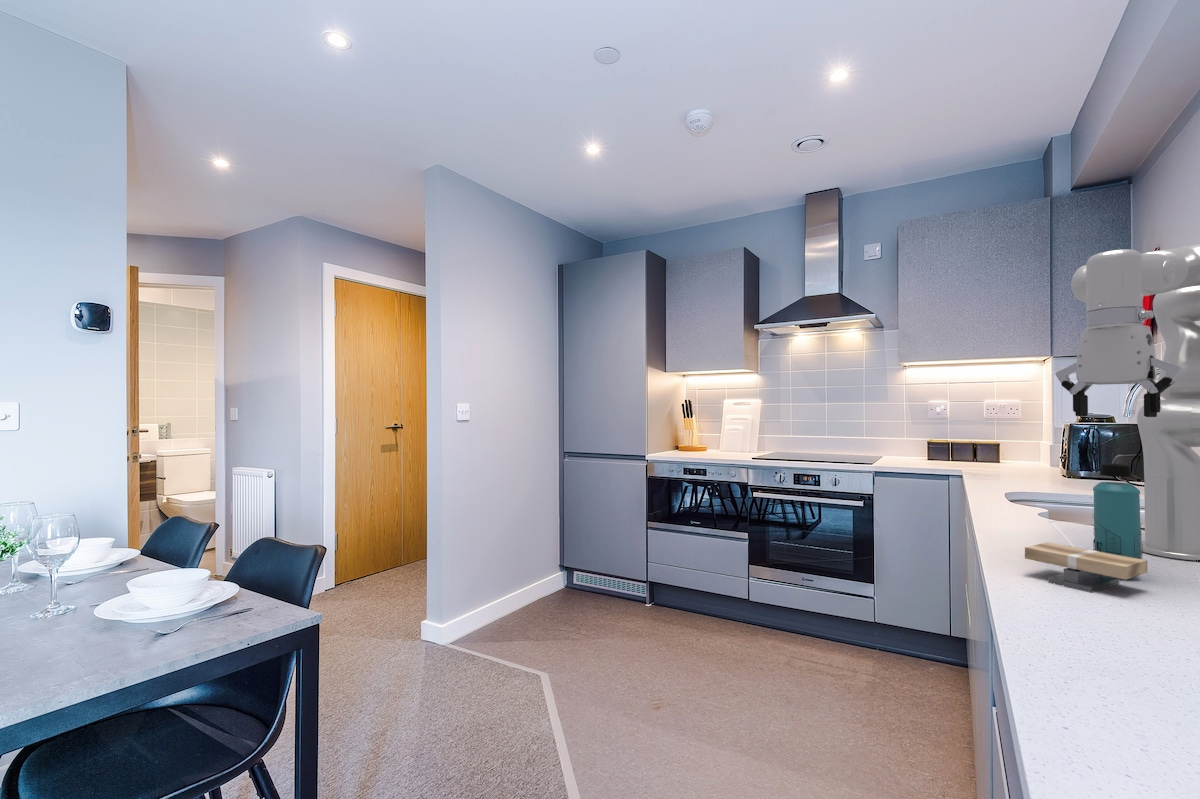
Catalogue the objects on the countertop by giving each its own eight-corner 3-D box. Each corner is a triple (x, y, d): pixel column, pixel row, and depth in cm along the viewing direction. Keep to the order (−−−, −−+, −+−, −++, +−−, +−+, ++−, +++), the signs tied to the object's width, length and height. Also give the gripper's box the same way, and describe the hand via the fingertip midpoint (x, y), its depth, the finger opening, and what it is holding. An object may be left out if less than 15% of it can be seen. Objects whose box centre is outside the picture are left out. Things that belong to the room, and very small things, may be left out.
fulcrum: (1076, 574, 102) (1076, 559, 102) (1119, 583, 97) (1119, 567, 97) (1048, 582, 97) (1048, 566, 97) (1091, 592, 92) (1091, 575, 92)
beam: (1047, 553, 105) (1047, 542, 105) (1147, 572, 93) (1147, 560, 93) (1024, 558, 101) (1024, 547, 101) (1125, 579, 89) (1125, 566, 89)
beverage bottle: (1154, 581, 98) (1152, 465, 98) (1114, 581, 98) (1113, 465, 98) (1120, 570, 104) (1118, 462, 104) (1083, 570, 104) (1081, 462, 104)
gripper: (1189, 316, 96) (1190, 417, 95) (1066, 328, 111) (1066, 416, 110) (1171, 312, 92) (1172, 417, 92) (1046, 325, 107) (1047, 415, 107)
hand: (1114, 416), depth 101 cm, fingers open, 9 cm apart
